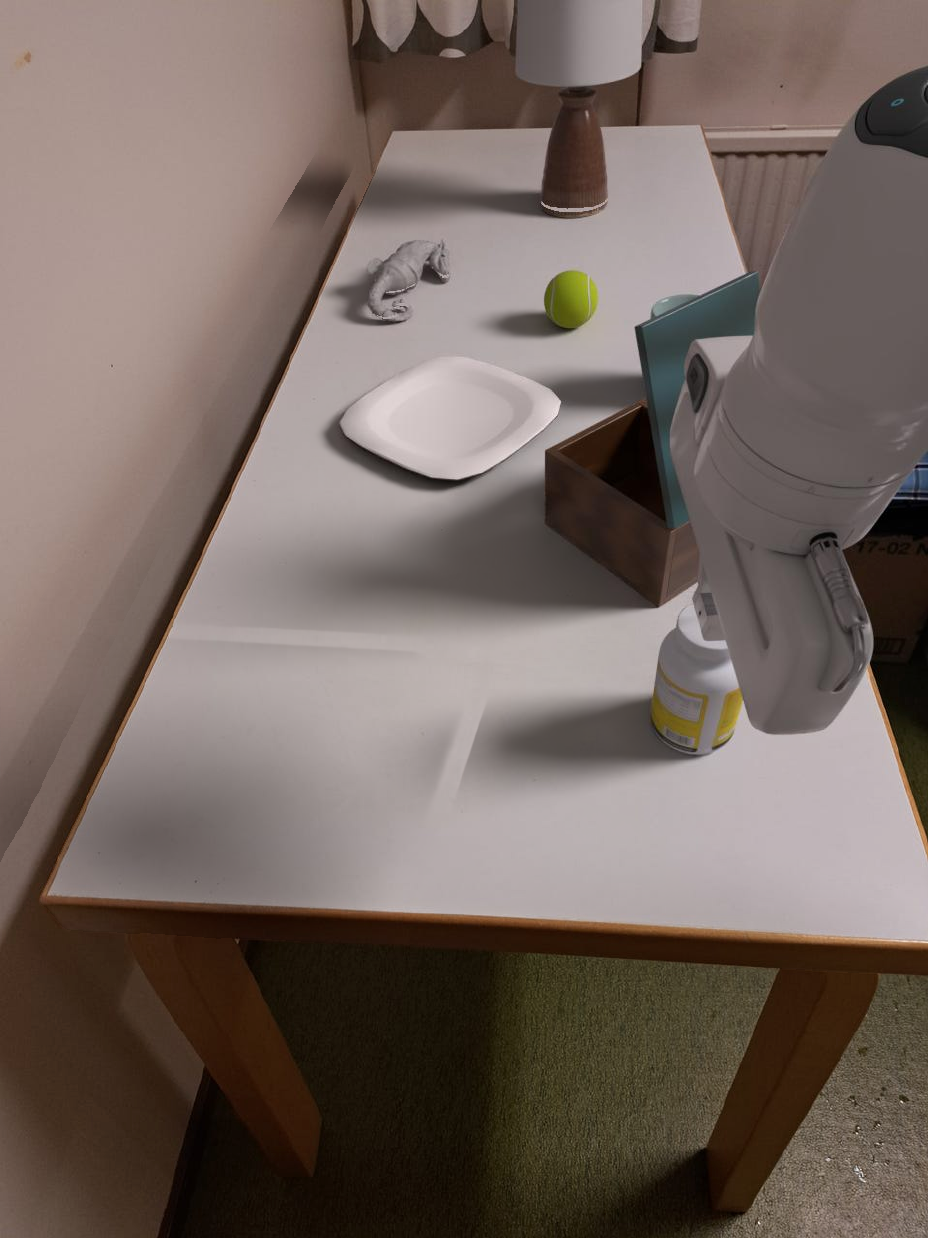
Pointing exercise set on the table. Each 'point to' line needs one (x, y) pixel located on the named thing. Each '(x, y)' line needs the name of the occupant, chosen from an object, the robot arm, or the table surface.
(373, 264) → the seahorse
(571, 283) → the tennis ball
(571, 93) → the lamp
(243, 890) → the table surface
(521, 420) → the plate
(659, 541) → the wooden box
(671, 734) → the pill bottle
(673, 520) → the teal box lid
